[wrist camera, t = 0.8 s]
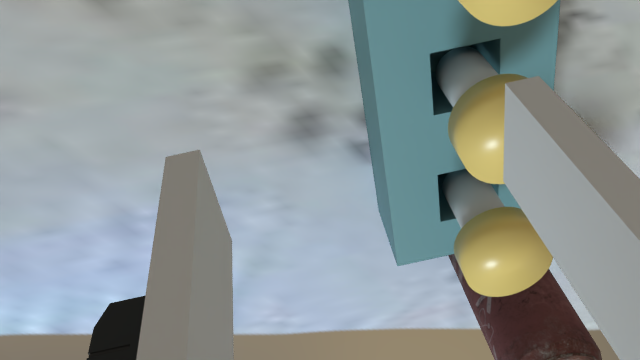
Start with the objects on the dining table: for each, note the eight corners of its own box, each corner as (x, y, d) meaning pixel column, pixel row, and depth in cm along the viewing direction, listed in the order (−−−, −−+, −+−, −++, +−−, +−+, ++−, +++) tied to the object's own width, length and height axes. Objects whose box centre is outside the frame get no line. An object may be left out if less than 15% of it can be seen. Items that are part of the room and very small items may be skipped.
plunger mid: (420, 116, 34) (462, 193, 28) (414, 39, 31) (459, 106, 25) (501, 98, 34) (560, 172, 28) (502, 20, 31) (568, 83, 25)
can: (486, 273, 50) (562, 423, 39) (429, 249, 48) (492, 402, 36) (536, 223, 48) (633, 369, 36) (478, 195, 45) (563, 342, 34)
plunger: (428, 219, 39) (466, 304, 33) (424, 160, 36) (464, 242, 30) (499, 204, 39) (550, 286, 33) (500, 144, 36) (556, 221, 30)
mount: (378, 210, 45) (397, 266, 40) (321, -189, 29) (340, -178, 24) (508, 182, 45) (542, 234, 40) (519, -231, 29) (577, -228, 24)
